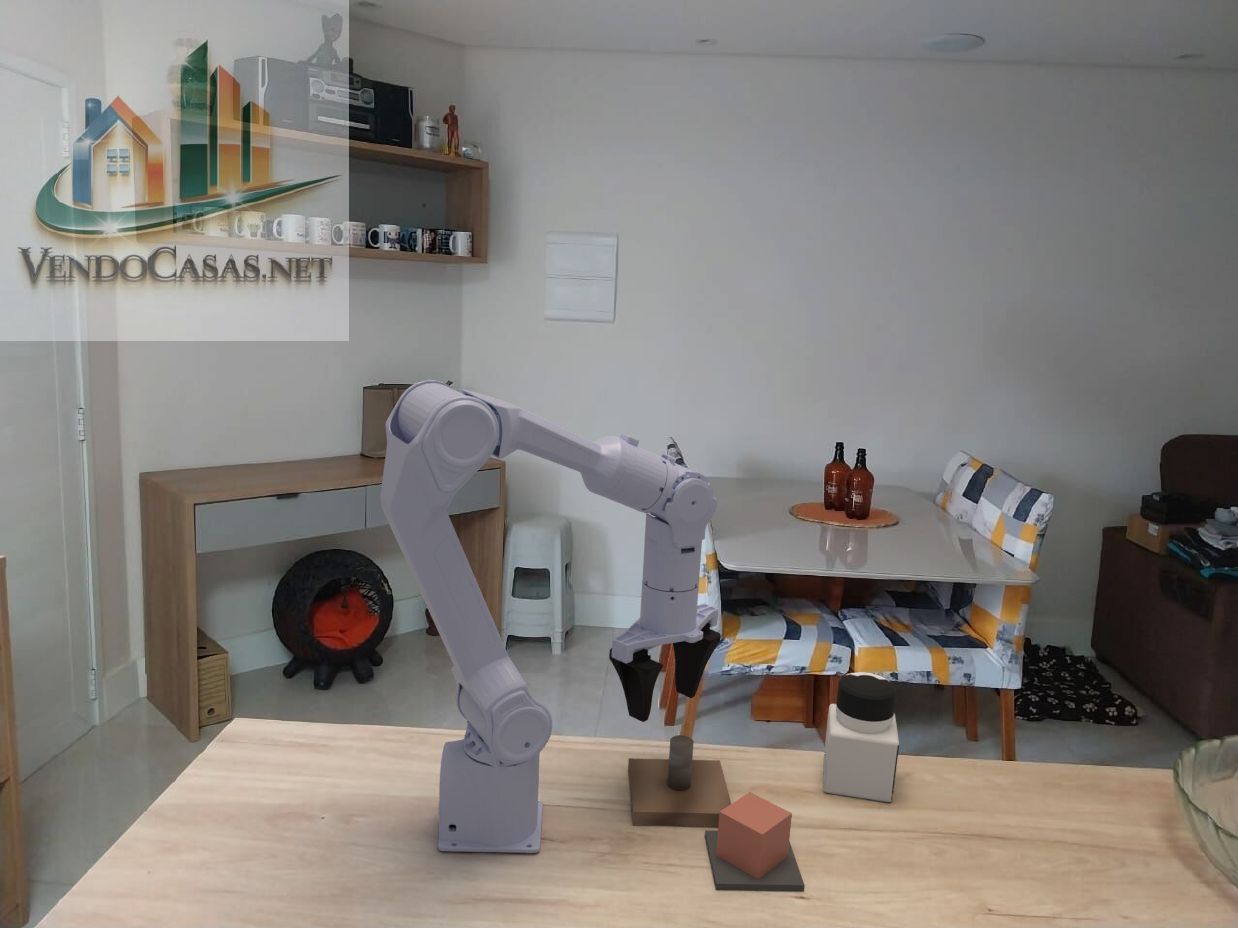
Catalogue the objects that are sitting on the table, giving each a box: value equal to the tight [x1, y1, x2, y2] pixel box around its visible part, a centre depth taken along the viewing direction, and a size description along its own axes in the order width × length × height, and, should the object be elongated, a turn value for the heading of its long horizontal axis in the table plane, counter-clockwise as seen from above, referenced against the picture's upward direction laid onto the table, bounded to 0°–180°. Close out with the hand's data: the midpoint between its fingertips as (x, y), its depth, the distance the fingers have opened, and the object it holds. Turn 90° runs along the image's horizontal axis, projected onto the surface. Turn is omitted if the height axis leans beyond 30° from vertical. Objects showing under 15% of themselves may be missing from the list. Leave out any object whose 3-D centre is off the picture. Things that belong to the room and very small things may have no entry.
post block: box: [627, 734, 732, 828], centre depth 100 cm, size 10×10×6 cm
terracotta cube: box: [716, 791, 793, 879], centre depth 91 cm, size 5×5×5 cm
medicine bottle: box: [823, 671, 900, 803], centre depth 105 cm, size 7×7×12 cm
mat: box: [704, 829, 805, 892], centre depth 91 cm, size 8×8×1 cm
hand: (662, 705), depth 101 cm, fingers open, 7 cm apart
